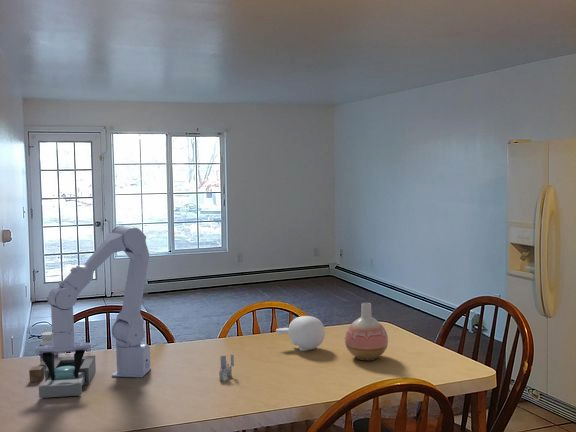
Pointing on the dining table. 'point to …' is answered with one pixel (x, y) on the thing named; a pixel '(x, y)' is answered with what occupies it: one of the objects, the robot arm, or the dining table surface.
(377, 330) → the vase
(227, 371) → the architectural model
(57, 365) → the grey drawer housing
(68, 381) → the tray
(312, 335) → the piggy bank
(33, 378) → the brown rectangular block
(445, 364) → the dining table surface
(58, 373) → the teal rounded dome
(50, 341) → the pill bottle
